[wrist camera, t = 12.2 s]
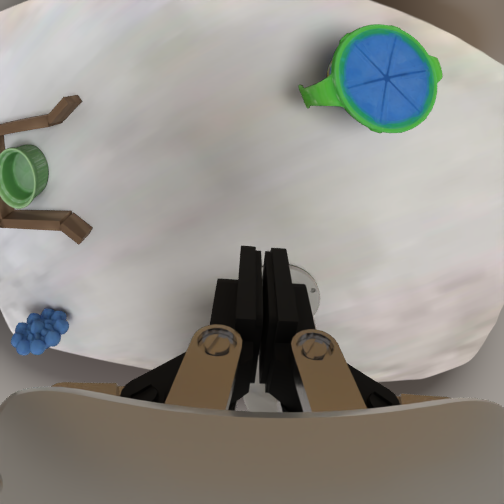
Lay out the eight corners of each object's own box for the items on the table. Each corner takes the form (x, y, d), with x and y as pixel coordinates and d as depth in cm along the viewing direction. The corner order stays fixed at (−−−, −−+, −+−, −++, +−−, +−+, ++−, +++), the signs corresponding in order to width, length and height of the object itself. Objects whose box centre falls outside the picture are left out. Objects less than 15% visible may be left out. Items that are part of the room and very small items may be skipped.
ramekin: (26, 206, 39) (10, 218, 35) (4, 158, 35) (-14, 167, 31) (61, 182, 37) (44, 193, 33) (37, 129, 33) (18, 136, 29)
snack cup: (303, 132, 34) (321, 147, 25) (281, 48, 29) (291, 33, 20) (418, 112, 32) (464, 125, 23) (402, 34, 27) (445, 24, 18)
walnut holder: (93, 233, 41) (83, 245, 38) (13, 229, 40) (1, 238, 37) (82, 94, 31) (68, 96, 28) (-4, 112, 31) (-19, 116, 27)
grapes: (40, 324, 51) (14, 365, 41) (27, 298, 48) (-3, 339, 38) (83, 330, 51) (59, 377, 41) (71, 302, 48) (42, 349, 37)
